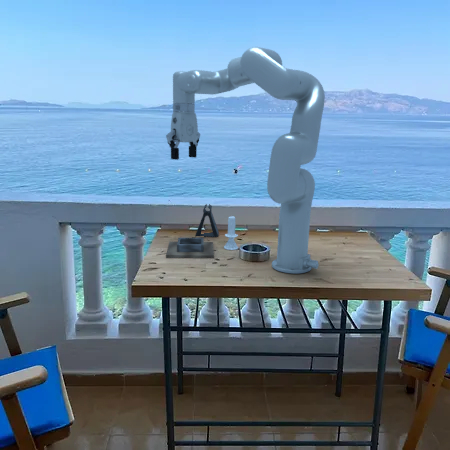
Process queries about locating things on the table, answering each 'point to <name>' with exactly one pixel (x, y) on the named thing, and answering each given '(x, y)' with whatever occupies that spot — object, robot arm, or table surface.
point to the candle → (231, 234)
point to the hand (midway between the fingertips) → (183, 158)
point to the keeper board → (190, 248)
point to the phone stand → (212, 222)
